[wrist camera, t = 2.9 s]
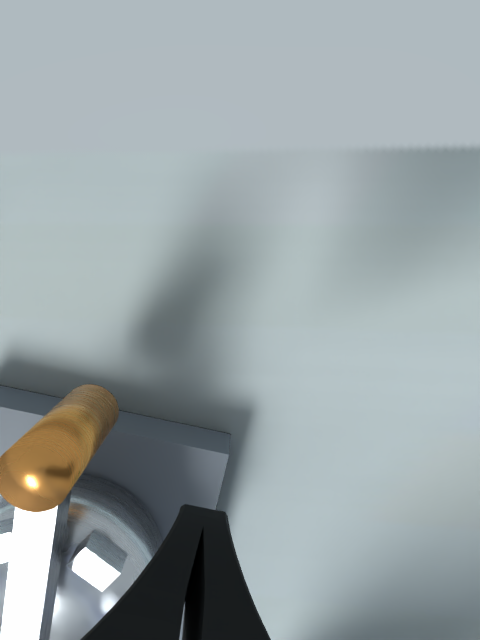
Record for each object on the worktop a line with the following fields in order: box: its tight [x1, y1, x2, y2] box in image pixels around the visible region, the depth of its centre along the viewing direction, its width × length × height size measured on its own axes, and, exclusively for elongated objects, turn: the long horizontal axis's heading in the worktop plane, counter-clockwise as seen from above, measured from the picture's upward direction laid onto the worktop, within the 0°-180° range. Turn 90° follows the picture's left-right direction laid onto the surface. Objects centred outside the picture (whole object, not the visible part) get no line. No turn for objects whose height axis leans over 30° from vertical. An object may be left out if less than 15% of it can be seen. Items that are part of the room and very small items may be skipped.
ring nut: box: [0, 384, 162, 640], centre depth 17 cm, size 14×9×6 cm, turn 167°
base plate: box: [0, 385, 230, 640], centre depth 21 cm, size 13×14×2 cm
